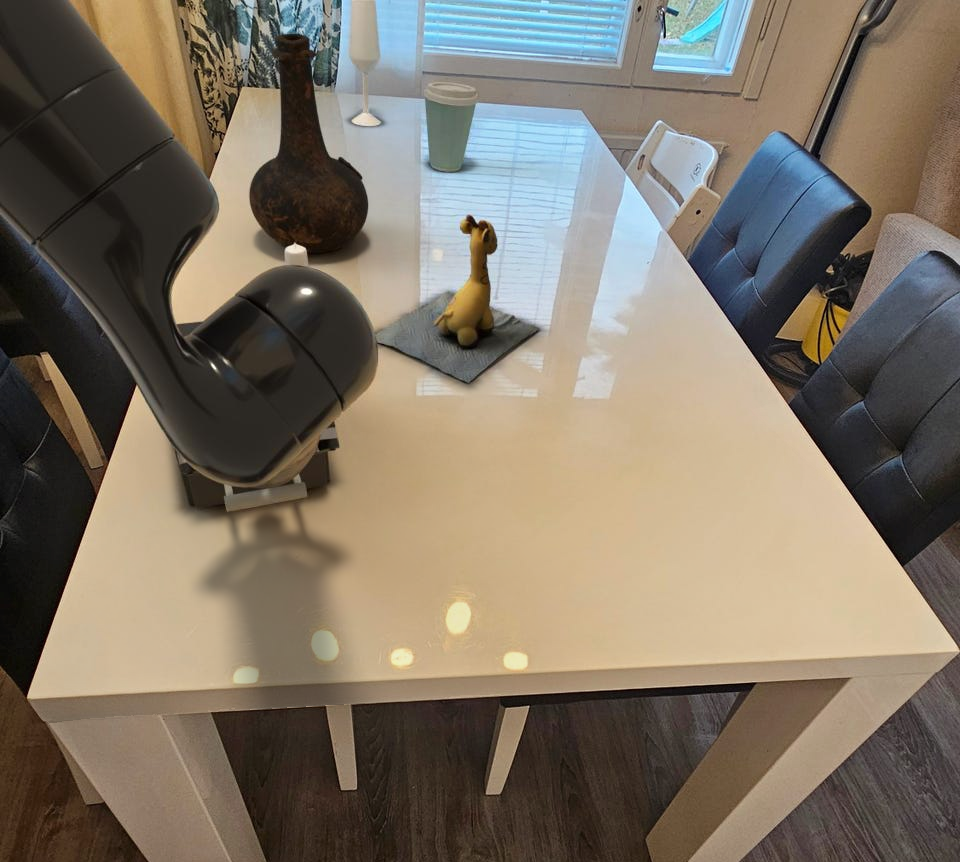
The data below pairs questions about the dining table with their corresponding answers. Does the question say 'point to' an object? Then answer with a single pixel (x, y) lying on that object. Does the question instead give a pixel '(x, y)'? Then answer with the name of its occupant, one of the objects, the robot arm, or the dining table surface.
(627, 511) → the dining table surface
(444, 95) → the disposable coffee cup
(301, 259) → the candle
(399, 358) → the dining table surface
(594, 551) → the dining table surface
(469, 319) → the stuffed giraffe
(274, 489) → the drawer
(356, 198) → the glass bottle
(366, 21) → the champagne flute
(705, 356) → the dining table surface
